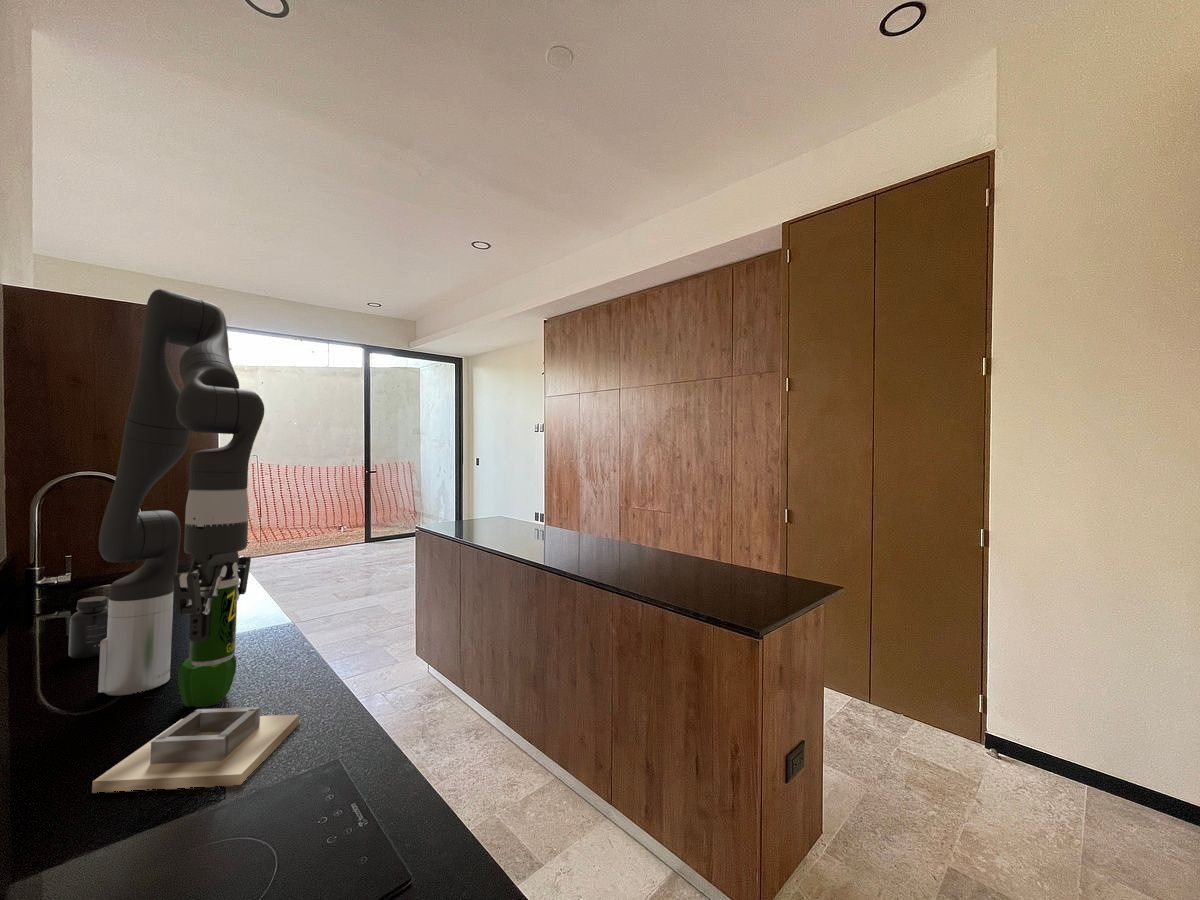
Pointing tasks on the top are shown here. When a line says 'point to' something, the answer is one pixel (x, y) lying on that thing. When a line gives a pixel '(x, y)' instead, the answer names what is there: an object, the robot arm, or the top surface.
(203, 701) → the bell pepper
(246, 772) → the collar board
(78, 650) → the supplement bottle
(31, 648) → the top surface
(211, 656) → the beer can
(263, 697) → the top surface
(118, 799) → the top surface
